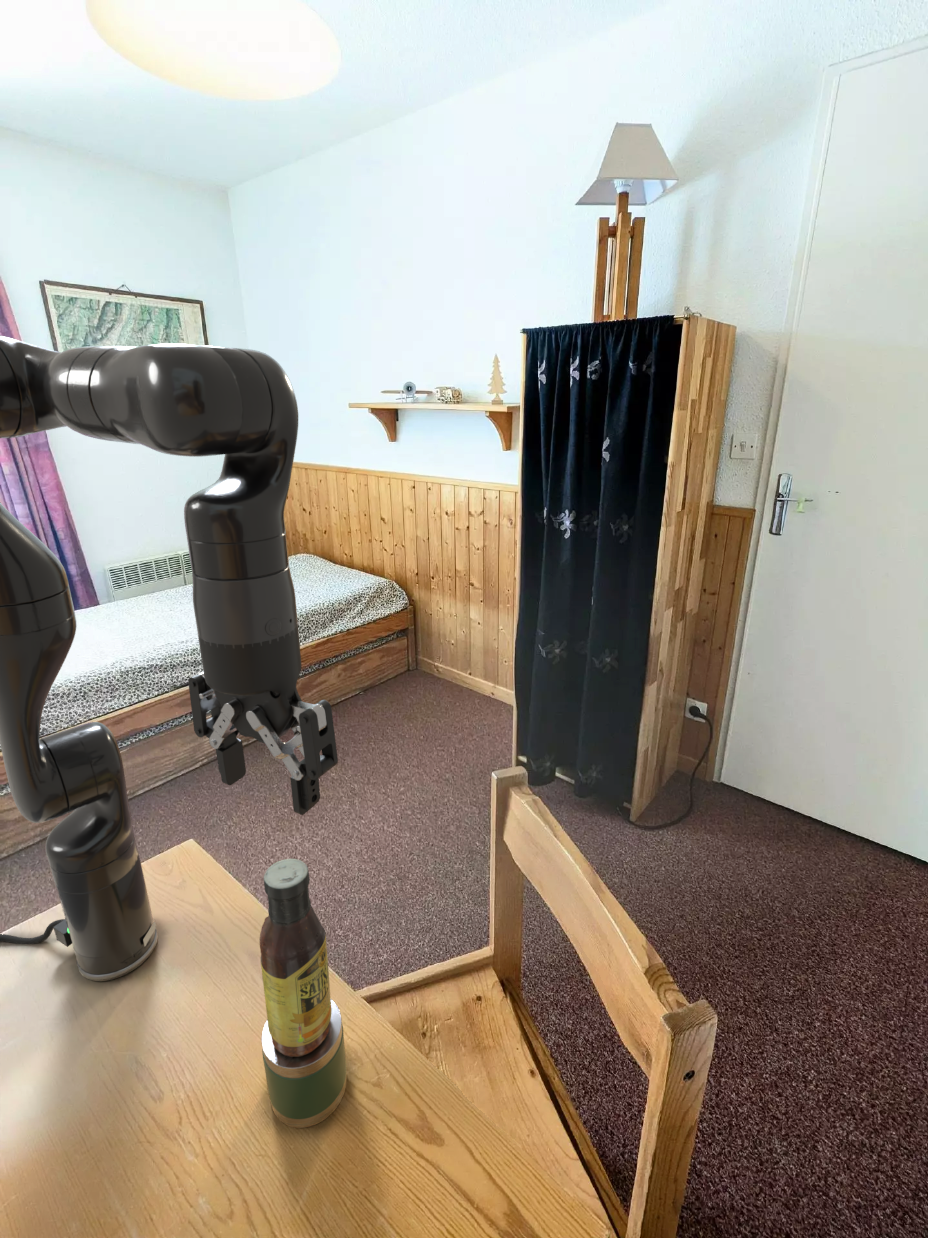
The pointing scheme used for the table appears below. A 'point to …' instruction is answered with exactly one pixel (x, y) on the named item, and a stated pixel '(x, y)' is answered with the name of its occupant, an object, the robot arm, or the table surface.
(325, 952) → the sauce bottle
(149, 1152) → the table surface
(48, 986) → the table surface
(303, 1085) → the tin can
